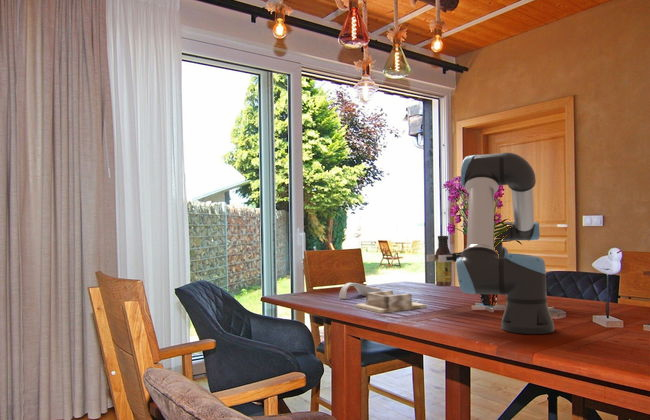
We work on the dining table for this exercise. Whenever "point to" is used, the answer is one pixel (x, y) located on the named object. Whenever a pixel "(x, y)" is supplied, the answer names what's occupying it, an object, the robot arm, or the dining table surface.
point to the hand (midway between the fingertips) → (433, 258)
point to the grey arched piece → (359, 287)
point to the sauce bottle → (443, 263)
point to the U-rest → (389, 302)
